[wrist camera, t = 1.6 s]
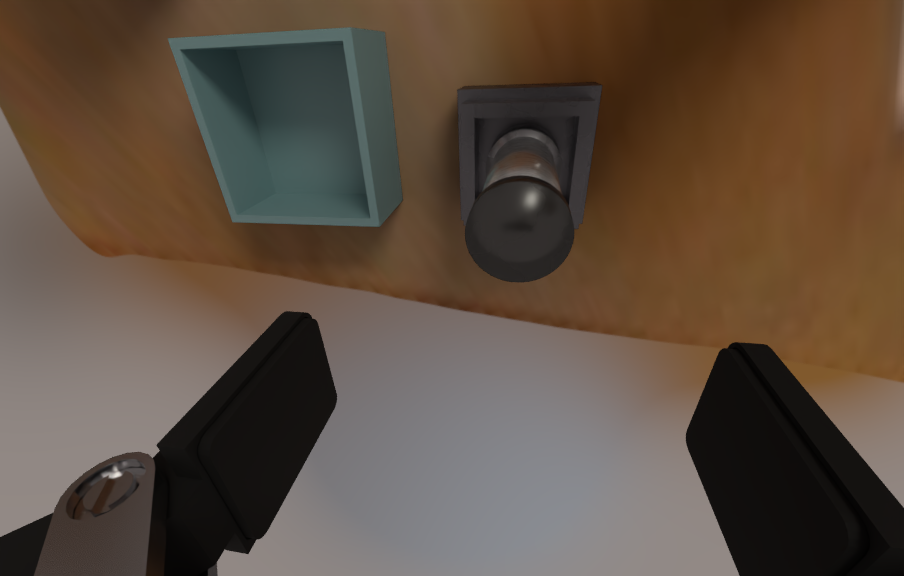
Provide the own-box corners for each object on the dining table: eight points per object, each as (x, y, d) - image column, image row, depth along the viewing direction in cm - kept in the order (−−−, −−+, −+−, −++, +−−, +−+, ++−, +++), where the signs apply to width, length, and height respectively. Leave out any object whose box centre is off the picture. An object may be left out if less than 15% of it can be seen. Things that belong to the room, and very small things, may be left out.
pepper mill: (563, 122, 25) (587, 177, 14) (555, 195, 28) (571, 289, 17) (489, 123, 26) (458, 176, 15) (488, 193, 28) (461, 283, 17)
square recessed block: (595, 81, 26) (609, 88, 22) (578, 209, 31) (586, 237, 26) (464, 86, 28) (450, 93, 23) (466, 207, 32) (455, 233, 28)
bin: (384, 31, 27) (350, 27, 22) (402, 200, 33) (379, 226, 28) (231, 40, 29) (167, 38, 24) (275, 197, 35) (232, 222, 30)
